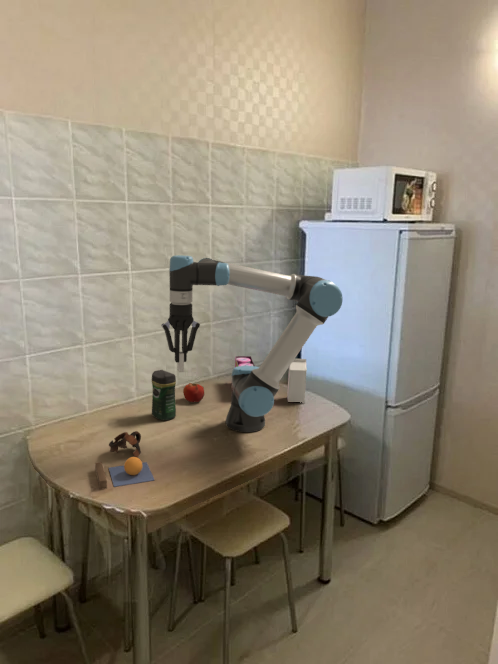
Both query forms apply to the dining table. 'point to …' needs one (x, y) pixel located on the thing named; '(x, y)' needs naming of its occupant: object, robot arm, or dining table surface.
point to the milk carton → (297, 381)
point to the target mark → (123, 478)
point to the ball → (133, 466)
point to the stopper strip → (101, 475)
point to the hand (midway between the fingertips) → (180, 371)
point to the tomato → (193, 392)
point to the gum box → (243, 361)
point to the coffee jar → (163, 395)
